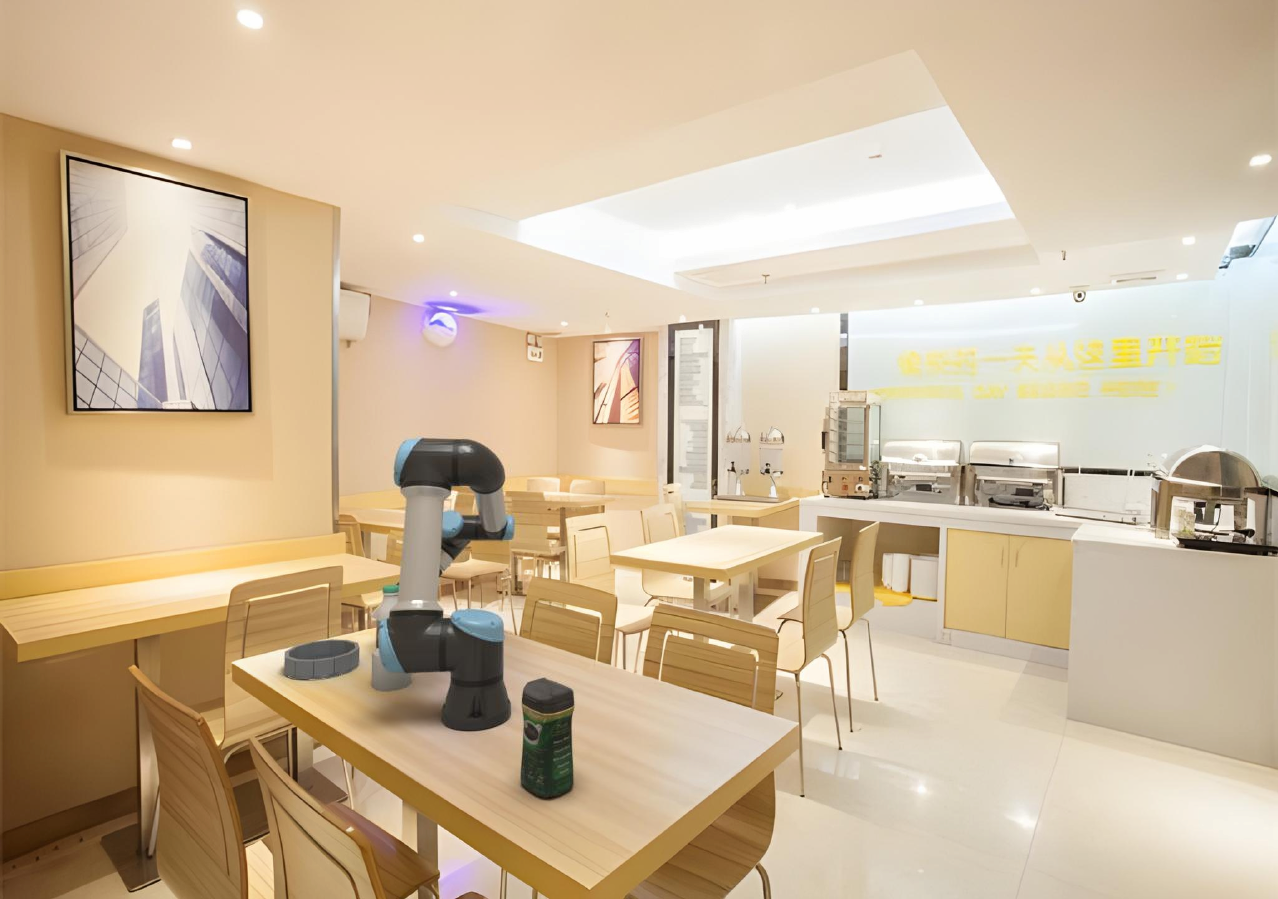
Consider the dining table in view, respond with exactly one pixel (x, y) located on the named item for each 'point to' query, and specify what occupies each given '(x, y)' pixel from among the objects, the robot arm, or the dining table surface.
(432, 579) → the robot arm
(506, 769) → the dining table surface
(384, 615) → the milk bottle
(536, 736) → the coffee jar
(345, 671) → the bowl
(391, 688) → the toilet tissue
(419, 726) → the dining table surface
